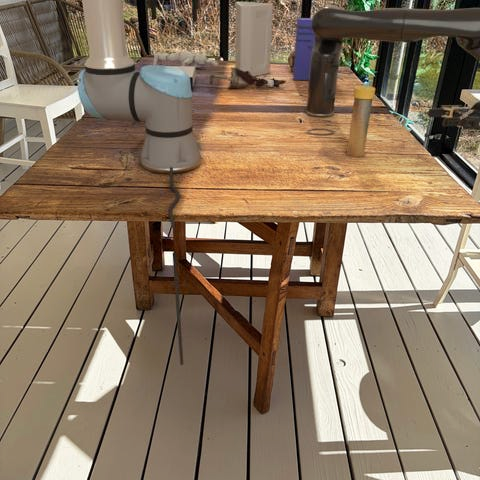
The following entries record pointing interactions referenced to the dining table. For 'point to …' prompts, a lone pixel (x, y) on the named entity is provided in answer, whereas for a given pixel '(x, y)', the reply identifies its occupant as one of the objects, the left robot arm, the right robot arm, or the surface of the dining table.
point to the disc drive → (190, 71)
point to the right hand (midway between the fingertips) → (435, 117)
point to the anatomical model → (291, 60)
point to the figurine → (246, 79)
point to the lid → (364, 92)
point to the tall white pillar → (253, 37)
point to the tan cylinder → (359, 127)
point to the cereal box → (303, 49)
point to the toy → (183, 58)
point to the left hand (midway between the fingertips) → (174, 20)
